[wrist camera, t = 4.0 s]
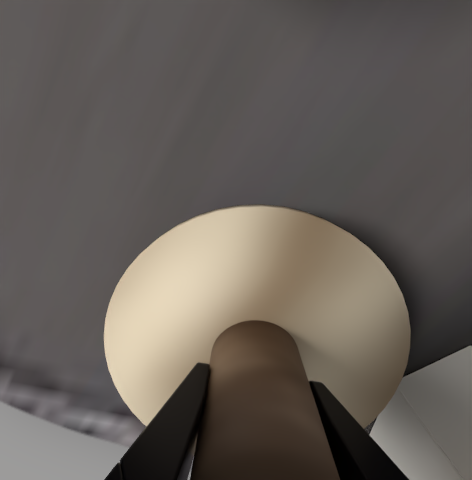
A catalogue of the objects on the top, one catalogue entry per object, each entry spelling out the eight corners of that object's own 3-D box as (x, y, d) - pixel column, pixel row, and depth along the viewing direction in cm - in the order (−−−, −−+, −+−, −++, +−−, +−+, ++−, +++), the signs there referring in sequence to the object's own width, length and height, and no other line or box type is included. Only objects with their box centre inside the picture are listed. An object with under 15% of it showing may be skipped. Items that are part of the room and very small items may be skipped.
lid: (441, 231, 8) (699, 308, 4) (350, 459, 11) (427, 662, 7) (118, 180, 8) (-52, 190, 3) (112, 427, 11) (18, 613, 6)
